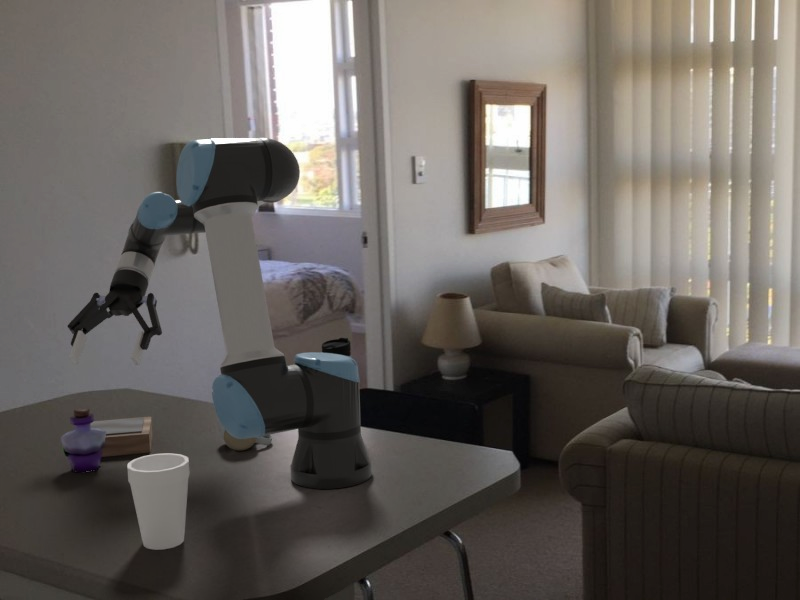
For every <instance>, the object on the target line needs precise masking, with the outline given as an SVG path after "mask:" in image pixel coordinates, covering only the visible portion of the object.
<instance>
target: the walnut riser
mask: <svg viewBox="0 0 800 600" xmlns="http://www.w3.org/2000/svg"><path fill="white" fill-rule="evenodd" d="M90 425H91V428H93V429H100V430H103V431H105V432H106V437H105V444H104V447H103V448H102V456H101V458H105V457H114V456H117V457H118V456H127V455H137V454H138V455H139V454H149V453H151V451H152V442H153V436H154V434H153V433H154V432H153V431H154V430H153V429H154V428H153V418H152V416H141V417H130V418H129V417H128V418H127V417H126V418H115V419H114V418H113V419H105V420H102V419H101V420H94V421H93V422H92V423H90Z"/></svg>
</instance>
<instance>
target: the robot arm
mask: <svg viewBox="0 0 800 600" xmlns="http://www.w3.org/2000/svg"><path fill="white" fill-rule="evenodd" d="M300 173H301V171H300V165H299V162H298V159H297V157H296V155H295V154H294V152H293V151H292V150H291V149H290V148H289V146H286V145H285V144H284V143H282V142H280V141H278V140H276V139H273V138H269V137H253V138H252V137H251V138H250V137H248V138H247V137H245V138H244V137H241V138H237V137H236V138H235V137H234V138H233V137H232V138H231V137H230V138H229V137H228V138H221V137H220V138H218V137H217V138H216V137H215V138H213V137H208V138H207V139H193V140H191V141H189V142H187V143H186V144H185V146H184V147H183V148H182V150H181V152H180V155H179V158H178V162H177V167H176V177H175V178H176V179H175V180H176V192H177V196H178V198H179V199H174V197H172V196H171V194H167V193H164V192H162V191H154V192H150V193H149V194H147V195H146V196H145V197H144V199H143V200H142V202H141V203H140V205H139V206H138V209H137V213H136V215H135V218H133V220H132V223H131V224H130V227H129V228H128V232H127V233H128V234H127V236H126V239H125V243H124V245H123V249H122V252H121V254H120V256H119V259H118V262H117V265H116V267H115V271H114V274H113V276H112V280H111V282H110V285H109V292H108V293H107V294H106V295H101V294H99V292H95V293H93V294H92V297H91V298H90V301H89V302H88V303H87V304H86V305H85V306H84V307H83V308H82V309H81V310H80V311H79V312H78V313H77V315H75V316H74V317H73V319H72V320H71V321H70V322H69V323H68V324H67V328H68V330H69V331H70V332H71V334H72V335H73V336H72V338H71V340H70V345H71V350H70V353H69V356H68V358H69V359H70V360H71V362H72V364H74V365H78V364H79V361H80V358H81V357H82V353H83V350H84V347H85V345H86V343H87V339H88V337H87V336H86V335H87V334H88V333H90V332H91V331H92V330H93V329H95V328H96V327H97V326H99V325H100V324H101V323H103V322H105V321H106V320H107V319H111V318H112V317H114V316H115V317H120V316H125V317H129V316H130V315H132V314H133V315H134V318H135V319H136V321H137V322H138V324H139V326H140V327H141V328H142V330H143V331H140V330H139V331H138V333H137V338H136V341H135V343H134V346H133V349H132V353H131V357H130V359H131V361H132V362H133V364H134V365H135V366H140V363H141V360H142V357H143V354H144V352H145V350H148V348H149V347H150V343H151V339H152V338H153V337H154V336H161V335H162V334H163V330H162V327H161V323H160V319H159V315H158V312H157V303H158V300H157V298H156V297H155V295H154V294H153V293H152V292H149V293H148V294H147V290H148V288H149V283H150V280H151V277H152V273H153V272H154V271H153V270H154V268H155V265H156V261H157V259H158V255H159V254H160V250H161V248H162V245H163V243H164V242H165V239H166V238H167V236H177V235H188V234H189V235H191V234H203V233H205V237H206V242H207V248H208V249H207V250H208V253H209V254H208V255H209V261H210V266H211V272H212V279H213V284H214V290H215V295H216V301H217V307H218V313H219V319H220V324H221V330H222V331H221V332H222V335H223V341H224V347H225V353H226V355H225V358H224V359H223V361H222V362H221V363H220V365H219V368H220V374H219V375H218V376H217V377H215V378H214V380H213V381H212V382H213V383H212V385H211V386H212V387H211V388H212V393H211V395H212V402H213V407H214V409H215V413H216V416H217V418H218V421H219V420H220V422H221V424H222V426H223V427H224V428H225V430H226V431H227V432H228V433H229V434H230V435H231V436H233V437H235V438H238V439H246V438H253V437H255V438H258V437H263V436H265V435H275V434H279V433H284V432H290V431H294V430H295V431H296V430H297V434H298V436H297V441H296V442H297V443H296V446H295V449H294V453H293V456H292V460H291V464H290V480H291V481H292V483H294V484H295V485H298V486H300V487H304V488H309V489H318V490H322V489H323V490H328V489H329V490H330V489H332V490H333V489H342V488H347V487H352V486H353V487H354V486H356V485H359V484H361V483H364V482H366V481H368V480H369V479H370V478H371V477H372V475H373V474H372V473H373V472H372V471H373V469H372V468H373V467H372V466H373V465H372V460H371V458H370V454H369V452H368V450H367V447H366V444H365V441H364V439H363V436H362V430H361V429H362V428H361V427H362V426H361V422H362V421H361V401H360V399H361V397H360V383H361V380H360V374H359V366H358V362H357V361H356V360H355V359H354V358H352V357H351V358H350V357H348V356H344V355H339V354H332V353H323V352H311V351H310V352H300V353H297V354H295V356H294V359H293V364H287V362H286V357H285V354H284V353H283V352H282V351H280V350H279V349H277V348H276V347H275V342H274V337H273V331H272V325H271V319H270V314H269V309H268V302H267V298H266V291H265V285H264V280H263V279H264V278H263V275H262V274H263V273H262V269H261V264H260V257H259V252H258V247H257V241H256V235H255V227H254V223H253V216H254V215H255V213H256V212H257V211H258V209H259V207H261V206H262V205H263V204H273V203H277V202H279V201H281V200H283V199H285V198H286V197H289V195H291V194H292V193H293V191H295V189H296V187H297V185H298V184H299V181H300ZM146 294H147V295H146ZM143 304H145V306H146V307H147V312H148V315H149V319H150V323H151V326H150V327H149V325H148V324H147V322H146V320H145V319H144V317H143V315H141V313H140V311H139V310H138V309H139V308H141V307H142V306H143ZM107 309H109V311H108V310H107Z"/></svg>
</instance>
